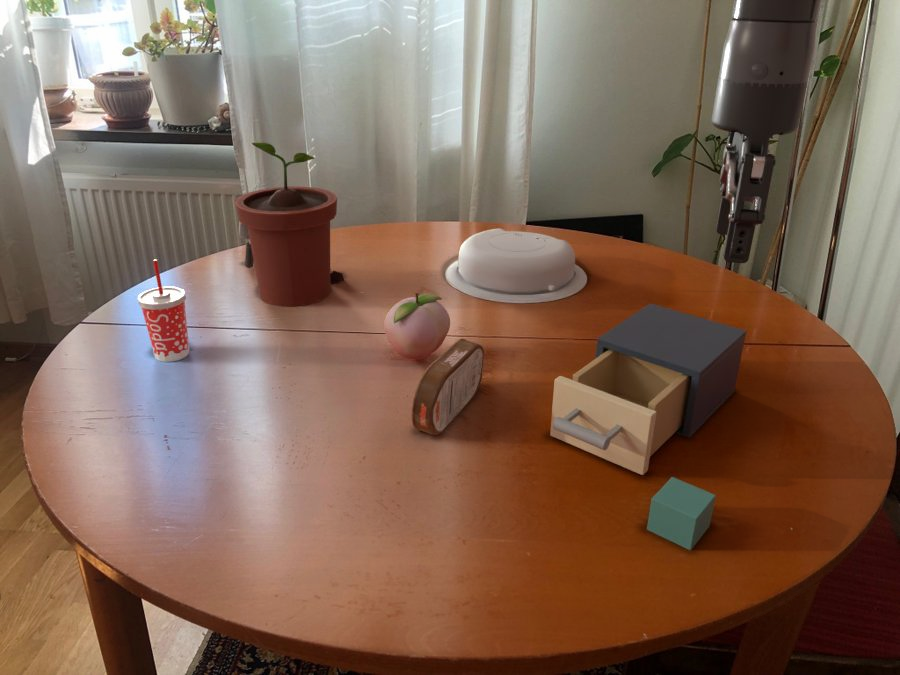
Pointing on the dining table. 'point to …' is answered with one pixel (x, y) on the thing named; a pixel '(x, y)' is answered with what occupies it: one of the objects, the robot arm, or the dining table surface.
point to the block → (681, 512)
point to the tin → (447, 386)
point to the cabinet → (683, 354)
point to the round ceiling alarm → (516, 267)
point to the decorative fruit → (417, 326)
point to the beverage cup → (165, 320)
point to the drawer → (620, 408)
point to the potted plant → (289, 239)
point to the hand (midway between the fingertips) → (730, 246)
